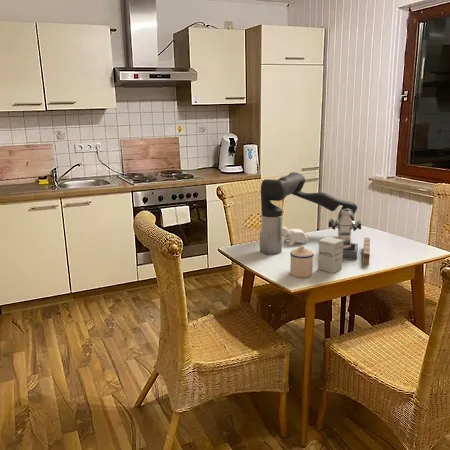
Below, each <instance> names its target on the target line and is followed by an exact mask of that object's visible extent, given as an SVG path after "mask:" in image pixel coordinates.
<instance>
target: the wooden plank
mask: <svg viewBox="0 0 450 450" xmlns="http://www.w3.org/2000/svg"><path fill="white" fill-rule="evenodd" d="M370 253H371V238H370V237H365V236H364V238H363V255H362V265H363V266H369V265H370Z"/></svg>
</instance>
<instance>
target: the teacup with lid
mask: <svg viewBox="0 0 450 450" xmlns="http://www.w3.org/2000/svg"><path fill="white" fill-rule="evenodd" d="M289 255H290V264H289V265H290V266H289V267H290V268H289V269H290V270H289V271H290V275H291V276H293V277H295V278H300V279H301V278H302V279H304V278H310V277H311V276H312V275H313V263H314V262H313V261H314V252H313V250H310V249H308V248H306V247H305V245H300V246H299V247H298V248H295V249H292V250H291V251H290V252H289Z"/></svg>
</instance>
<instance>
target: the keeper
mask: <svg viewBox="0 0 450 450" xmlns="http://www.w3.org/2000/svg"><path fill="white" fill-rule="evenodd" d="M358 249H359V243H356V242H355V243H353V242H351V251H350V250H343V258H342V259H345V260H358V259H357V258H358Z"/></svg>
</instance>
